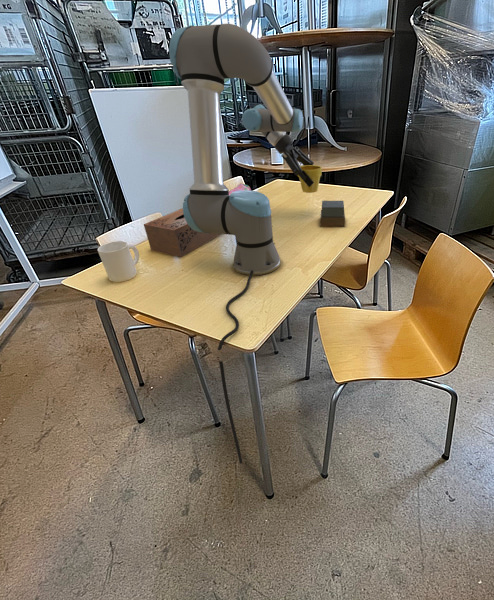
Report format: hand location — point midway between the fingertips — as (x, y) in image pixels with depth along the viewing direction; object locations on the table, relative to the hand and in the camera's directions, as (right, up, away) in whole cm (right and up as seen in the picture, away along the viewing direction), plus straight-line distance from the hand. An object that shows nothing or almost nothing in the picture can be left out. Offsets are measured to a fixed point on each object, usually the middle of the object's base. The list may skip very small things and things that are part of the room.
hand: (316, 181), depth 143 cm
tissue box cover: (-49, -28, -13) cm, 58 cm away
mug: (-62, -42, -34) cm, 83 cm away
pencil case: (-38, -5, +22) cm, 44 cm away
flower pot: (-3, -3, +3) cm, 5 cm away
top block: (+7, -14, -2) cm, 16 cm away
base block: (+7, -17, 0) cm, 19 cm away
